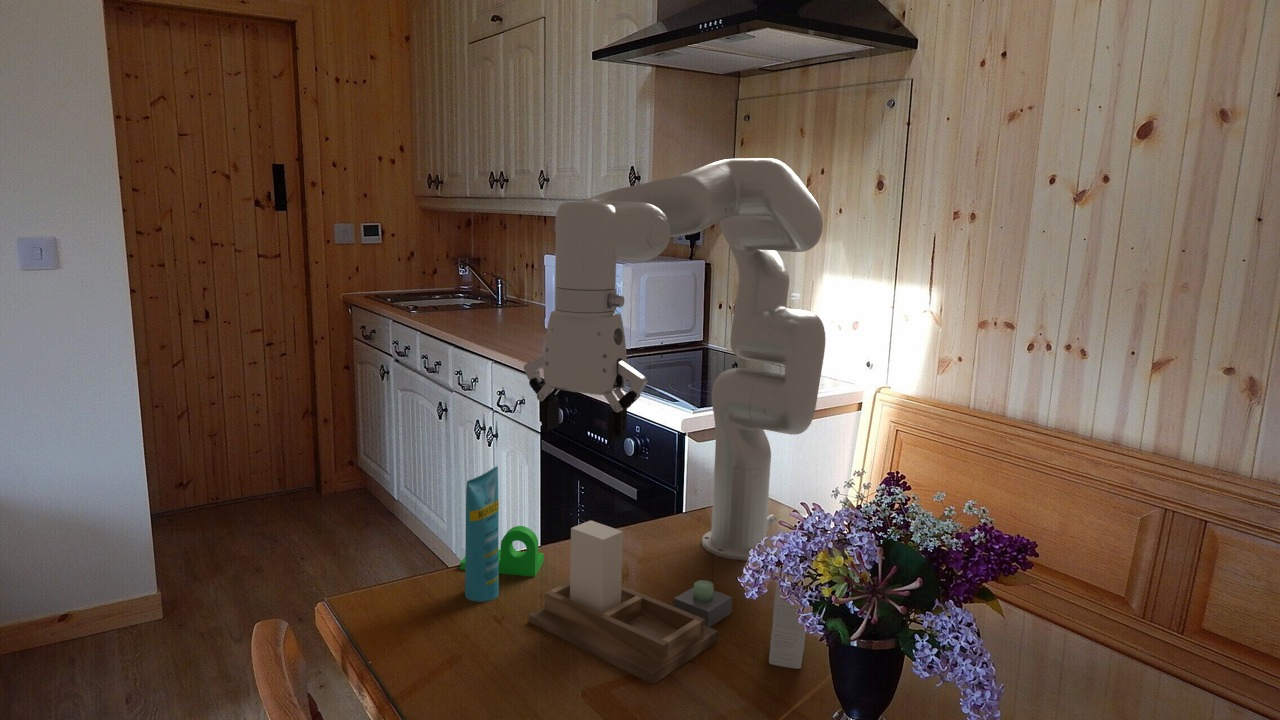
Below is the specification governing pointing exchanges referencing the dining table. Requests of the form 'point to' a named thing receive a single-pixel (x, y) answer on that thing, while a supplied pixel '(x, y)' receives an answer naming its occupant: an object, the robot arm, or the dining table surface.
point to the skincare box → (786, 635)
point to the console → (705, 606)
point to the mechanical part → (518, 553)
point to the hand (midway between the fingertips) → (582, 434)
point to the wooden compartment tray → (628, 631)
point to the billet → (596, 566)
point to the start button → (703, 591)
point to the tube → (482, 537)
